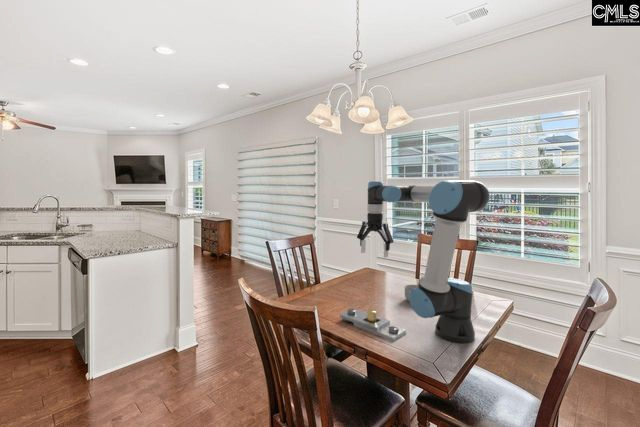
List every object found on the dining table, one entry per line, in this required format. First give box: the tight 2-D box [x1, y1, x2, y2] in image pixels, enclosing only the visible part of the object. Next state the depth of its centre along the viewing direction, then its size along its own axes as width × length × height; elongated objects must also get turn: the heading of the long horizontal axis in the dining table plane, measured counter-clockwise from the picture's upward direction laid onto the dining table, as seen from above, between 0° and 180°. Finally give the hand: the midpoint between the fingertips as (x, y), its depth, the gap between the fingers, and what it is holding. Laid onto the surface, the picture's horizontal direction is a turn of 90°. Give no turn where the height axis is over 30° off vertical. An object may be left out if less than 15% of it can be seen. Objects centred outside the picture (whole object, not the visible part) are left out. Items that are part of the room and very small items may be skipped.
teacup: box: [403, 284, 418, 303], centre depth 172 cm, size 14×11×8 cm
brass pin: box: [366, 308, 377, 324], centre depth 142 cm, size 4×4×7 cm
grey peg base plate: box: [339, 307, 407, 342], centre depth 142 cm, size 28×10×4 cm, turn 46°
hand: (374, 254), depth 163 cm, fingers open, 13 cm apart
